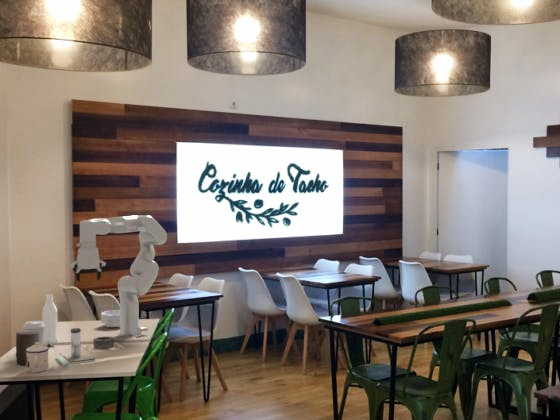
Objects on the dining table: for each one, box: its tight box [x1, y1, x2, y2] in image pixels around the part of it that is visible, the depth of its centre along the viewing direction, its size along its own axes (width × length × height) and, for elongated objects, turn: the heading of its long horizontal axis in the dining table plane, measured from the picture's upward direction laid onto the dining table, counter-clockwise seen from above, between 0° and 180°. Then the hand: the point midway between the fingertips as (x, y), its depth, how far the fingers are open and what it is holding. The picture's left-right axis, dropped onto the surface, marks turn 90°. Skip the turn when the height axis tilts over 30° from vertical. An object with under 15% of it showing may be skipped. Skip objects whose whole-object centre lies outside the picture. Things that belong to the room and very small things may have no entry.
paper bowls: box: [100, 309, 120, 328], centre depth 365 cm, size 15×15×8 cm
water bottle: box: [41, 293, 59, 347], centre depth 318 cm, size 7×7×25 cm
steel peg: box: [70, 327, 82, 359], centre depth 288 cm, size 4×4×13 cm
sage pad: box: [55, 355, 97, 367], centre depth 289 cm, size 14×14×1 cm
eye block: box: [83, 336, 125, 353], centre depth 308 cm, size 16×16×6 cm
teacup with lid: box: [26, 342, 50, 373], centre depth 272 cm, size 12×9×12 cm
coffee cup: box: [22, 320, 45, 346], centre depth 299 cm, size 10×10×15 cm
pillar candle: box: [15, 329, 40, 366], centre depth 285 cm, size 10×10×15 cm
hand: (88, 280), depth 316 cm, fingers open, 9 cm apart
